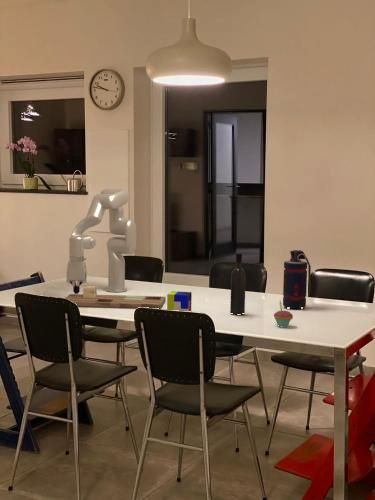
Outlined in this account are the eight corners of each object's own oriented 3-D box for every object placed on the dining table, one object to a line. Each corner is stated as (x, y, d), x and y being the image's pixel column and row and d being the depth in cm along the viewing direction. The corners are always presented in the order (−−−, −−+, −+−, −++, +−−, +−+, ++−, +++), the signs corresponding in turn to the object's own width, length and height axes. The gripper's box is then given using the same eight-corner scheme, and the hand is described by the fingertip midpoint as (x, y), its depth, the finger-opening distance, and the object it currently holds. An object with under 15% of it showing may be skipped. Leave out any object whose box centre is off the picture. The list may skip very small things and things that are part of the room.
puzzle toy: (187, 315, 324) (187, 295, 323) (167, 314, 326) (167, 294, 325) (191, 312, 334) (191, 292, 333) (171, 310, 336) (171, 291, 335)
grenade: (284, 309, 343) (286, 251, 340) (281, 305, 355) (282, 249, 352) (311, 310, 343) (313, 252, 340) (307, 306, 354) (309, 249, 351)
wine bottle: (229, 314, 329) (230, 253, 326) (236, 312, 333) (238, 252, 330) (238, 315, 325) (239, 254, 322) (245, 314, 329) (247, 253, 326)
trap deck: (70, 298, 366) (70, 293, 365) (165, 301, 362) (165, 296, 362) (59, 306, 342) (59, 301, 341) (160, 309, 338) (160, 304, 338)
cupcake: (270, 326, 302) (271, 300, 301) (278, 323, 309) (279, 297, 308) (287, 329, 298) (288, 302, 296) (295, 325, 305) (296, 299, 304)
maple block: (85, 295, 362) (85, 286, 361) (96, 295, 361) (96, 286, 361) (83, 297, 356) (83, 287, 355) (94, 297, 355) (94, 288, 355)
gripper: (91, 259, 360) (91, 292, 362) (64, 258, 361) (64, 292, 363) (88, 260, 353) (88, 295, 355) (60, 259, 354) (60, 294, 356)
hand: (76, 293), depth 359 cm, fingers closed
